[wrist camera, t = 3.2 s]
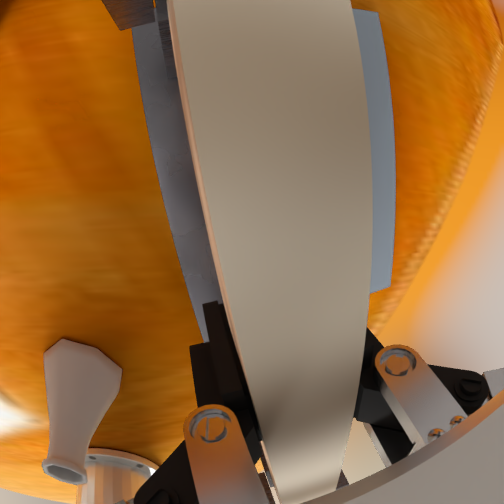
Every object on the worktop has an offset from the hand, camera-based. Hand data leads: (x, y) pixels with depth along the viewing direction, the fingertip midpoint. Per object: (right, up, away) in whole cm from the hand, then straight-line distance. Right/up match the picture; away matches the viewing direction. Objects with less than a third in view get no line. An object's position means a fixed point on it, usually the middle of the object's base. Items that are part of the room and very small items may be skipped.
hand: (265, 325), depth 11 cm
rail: (0, -1, -1) cm, 1 cm away
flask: (-15, -7, +11) cm, 19 cm away
